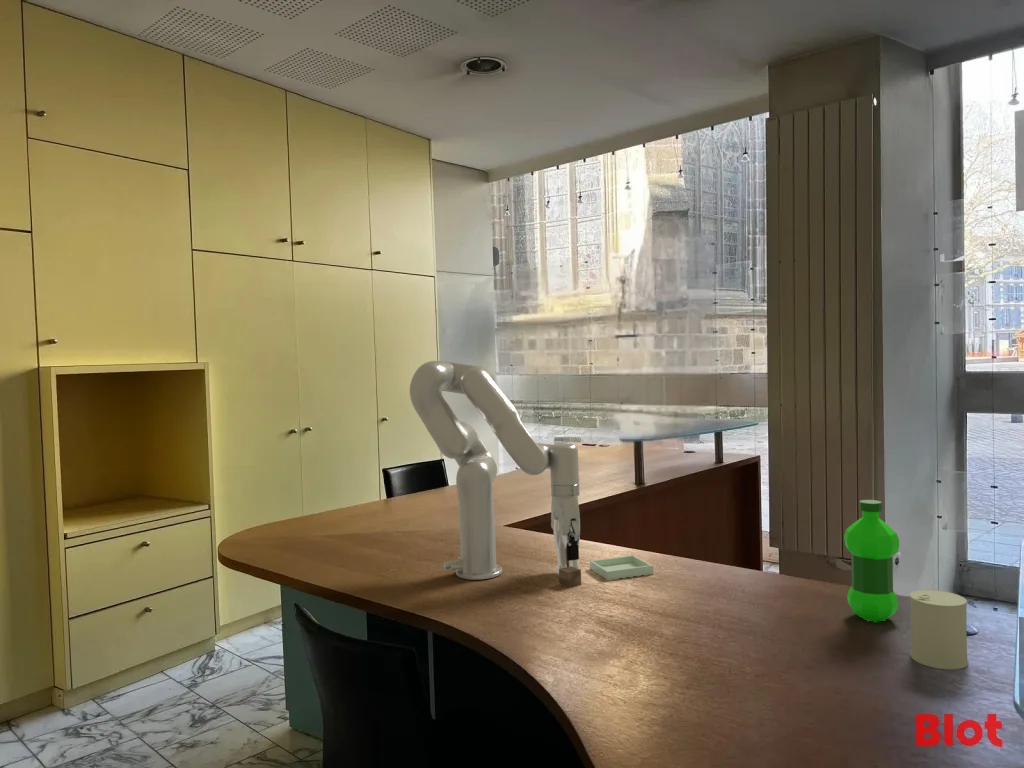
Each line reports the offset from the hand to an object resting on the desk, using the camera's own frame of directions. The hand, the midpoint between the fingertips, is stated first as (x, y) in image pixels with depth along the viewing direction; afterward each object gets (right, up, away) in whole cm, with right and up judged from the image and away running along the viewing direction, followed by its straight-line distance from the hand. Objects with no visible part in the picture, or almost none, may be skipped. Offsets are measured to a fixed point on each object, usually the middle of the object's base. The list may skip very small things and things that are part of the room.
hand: (567, 555), depth 197 cm
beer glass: (0, -5, 0) cm, 5 cm away
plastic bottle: (+62, -4, -40) cm, 74 cm away
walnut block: (0, -5, -9) cm, 11 cm away
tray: (+14, -4, 0) cm, 15 cm away
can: (+64, -5, -62) cm, 89 cm away
